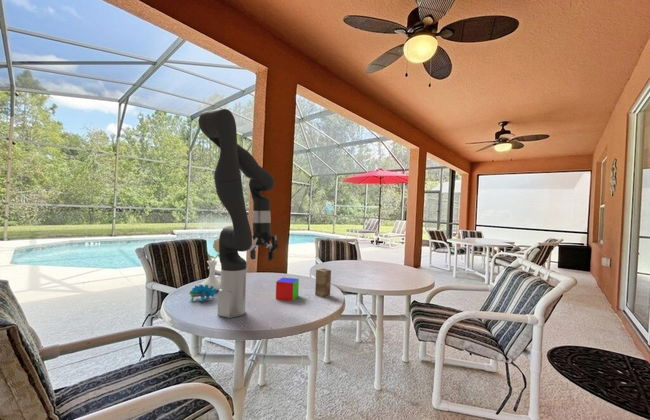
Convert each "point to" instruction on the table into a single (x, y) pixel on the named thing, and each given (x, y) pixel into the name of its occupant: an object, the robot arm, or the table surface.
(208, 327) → the table surface
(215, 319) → the table surface
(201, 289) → the blue toy dinosaur
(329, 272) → the pillar
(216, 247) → the flower in vase
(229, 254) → the robot arm
